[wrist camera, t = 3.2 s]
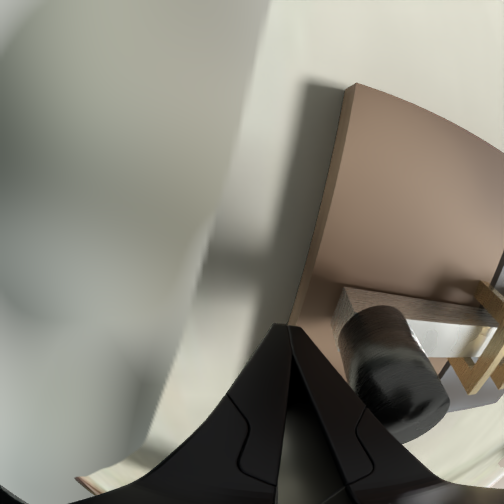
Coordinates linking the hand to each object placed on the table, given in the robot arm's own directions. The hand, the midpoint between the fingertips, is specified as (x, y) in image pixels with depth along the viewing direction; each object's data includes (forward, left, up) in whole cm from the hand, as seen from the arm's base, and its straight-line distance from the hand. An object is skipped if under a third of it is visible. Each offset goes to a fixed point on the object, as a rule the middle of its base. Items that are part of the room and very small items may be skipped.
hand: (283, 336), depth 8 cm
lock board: (0, -11, -4) cm, 12 cm away
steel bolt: (0, -6, -2) cm, 6 cm away
